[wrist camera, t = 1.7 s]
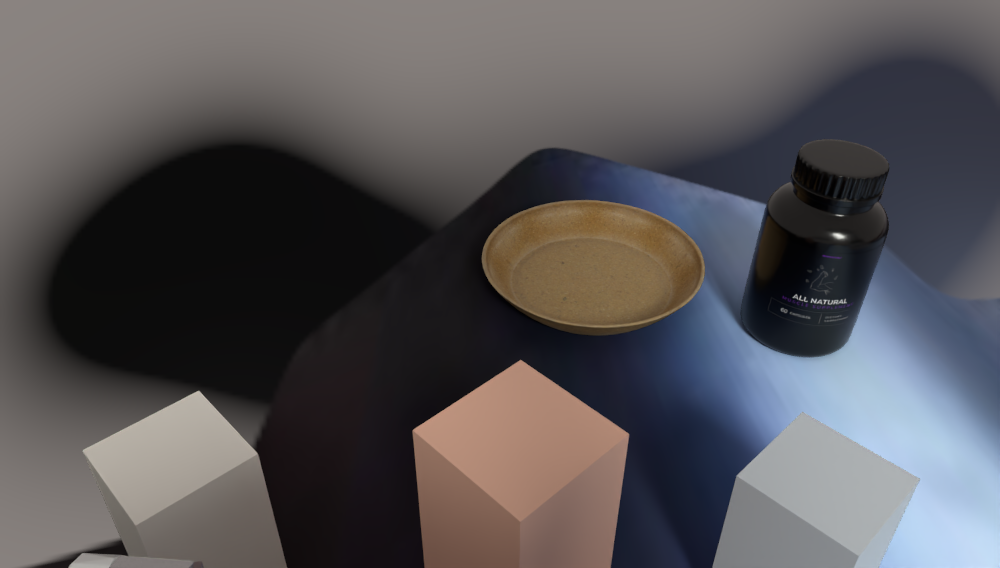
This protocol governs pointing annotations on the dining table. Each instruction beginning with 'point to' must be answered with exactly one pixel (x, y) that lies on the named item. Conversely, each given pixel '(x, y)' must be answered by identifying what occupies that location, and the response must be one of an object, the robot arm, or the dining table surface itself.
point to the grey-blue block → (813, 503)
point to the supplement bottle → (817, 250)
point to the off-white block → (188, 489)
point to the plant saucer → (593, 266)
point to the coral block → (519, 478)
